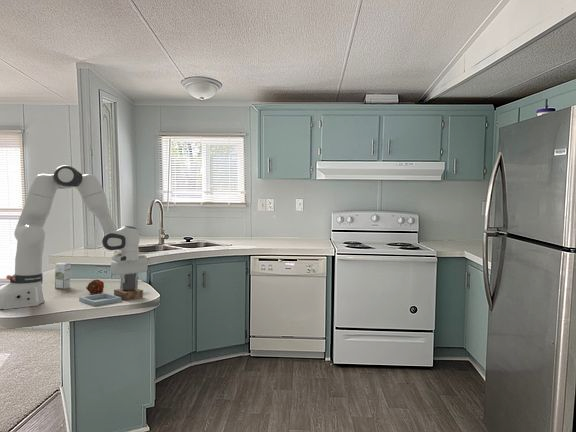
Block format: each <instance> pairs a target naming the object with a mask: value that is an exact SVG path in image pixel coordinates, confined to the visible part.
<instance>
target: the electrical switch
mask: <svg viewBox="0 0 576 432" xmlns="http://www.w3.org/2000/svg"><path fill="white" fill-rule="evenodd" d="M119 285H120V286H119V289H123V283H122V278H121V277H120V284H119ZM138 285H139V275H138V276H137V278H136V281H135V288H137V289H139V287H138Z"/></svg>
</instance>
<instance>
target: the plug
mask: <svg viewBox="0 0 576 432" xmlns="http://www.w3.org/2000/svg"><path fill="white" fill-rule="evenodd" d="M124 278H125V279H126V283H123V289H125V290H132V289H135V281H136V274H134V273H131V274H125V276H124Z"/></svg>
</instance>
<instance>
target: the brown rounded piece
mask: <svg viewBox="0 0 576 432" xmlns="http://www.w3.org/2000/svg"><path fill="white" fill-rule="evenodd" d="M104 288H105V283H104V281H102V280H100V279H97V278H96V279H93V280H91V282H89V283H87V286H86V287H85V289H86V290H87V291H88V292H89V293H90V294H91V295H96V294H102V293H104Z"/></svg>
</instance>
